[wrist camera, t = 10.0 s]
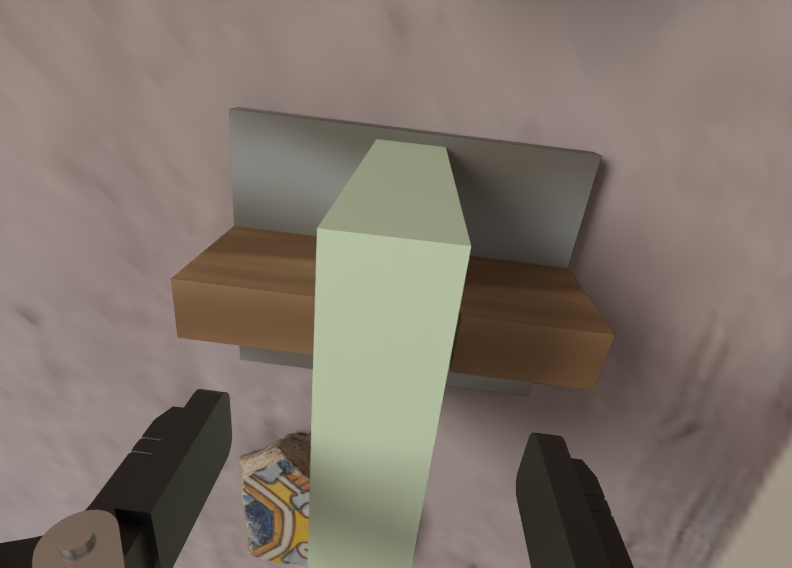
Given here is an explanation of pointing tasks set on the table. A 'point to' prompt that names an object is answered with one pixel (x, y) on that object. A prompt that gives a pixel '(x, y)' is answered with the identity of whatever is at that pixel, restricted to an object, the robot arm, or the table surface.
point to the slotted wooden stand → (486, 272)
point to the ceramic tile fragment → (278, 499)
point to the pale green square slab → (382, 352)
